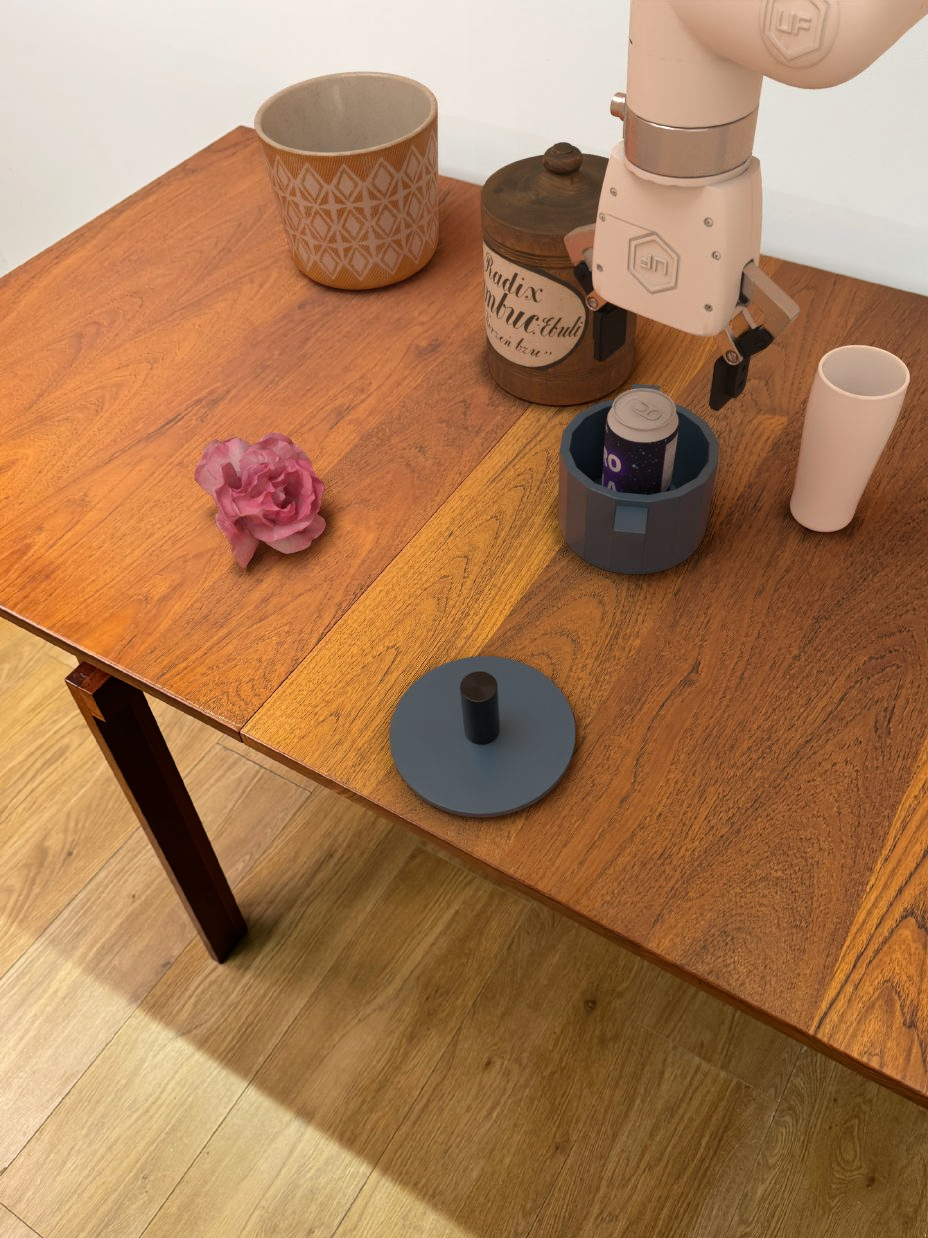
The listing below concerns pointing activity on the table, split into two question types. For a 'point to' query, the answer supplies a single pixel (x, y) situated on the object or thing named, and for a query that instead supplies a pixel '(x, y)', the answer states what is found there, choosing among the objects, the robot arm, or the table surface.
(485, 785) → the pot lid
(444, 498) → the table surface
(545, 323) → the wooden container
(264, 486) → the flower
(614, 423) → the beverage can
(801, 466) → the drinking glass
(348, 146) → the planter
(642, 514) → the pot
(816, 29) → the robot arm
